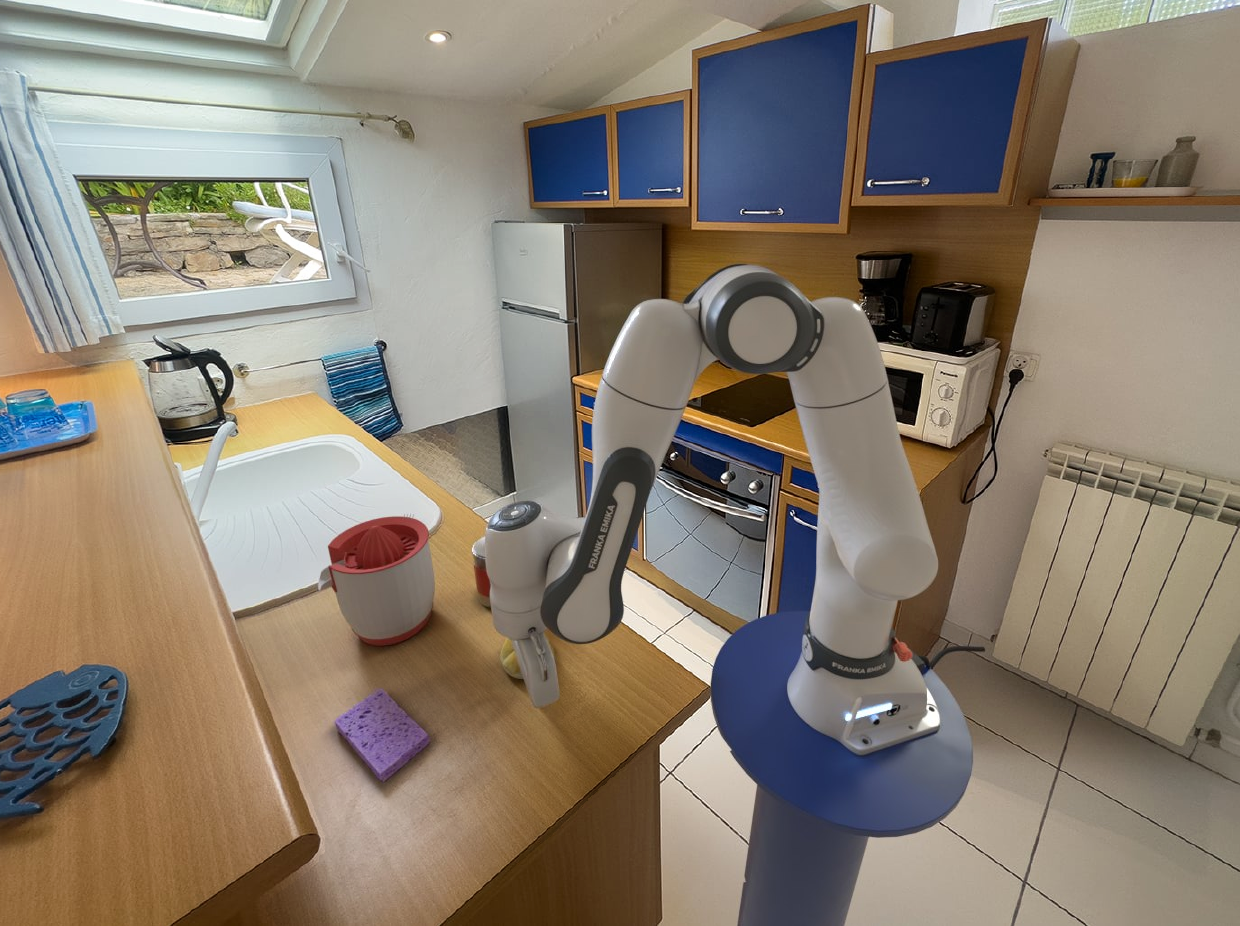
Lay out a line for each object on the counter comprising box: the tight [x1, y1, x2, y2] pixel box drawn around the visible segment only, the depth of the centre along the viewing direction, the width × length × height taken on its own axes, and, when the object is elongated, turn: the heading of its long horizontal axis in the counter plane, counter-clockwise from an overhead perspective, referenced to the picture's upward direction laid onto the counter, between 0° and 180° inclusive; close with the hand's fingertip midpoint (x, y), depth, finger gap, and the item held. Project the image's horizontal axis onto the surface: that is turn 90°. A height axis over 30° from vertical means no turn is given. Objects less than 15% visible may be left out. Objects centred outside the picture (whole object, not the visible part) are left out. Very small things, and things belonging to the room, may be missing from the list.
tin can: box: [471, 536, 491, 609], centre depth 100 cm, size 8×8×11 cm
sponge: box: [333, 687, 431, 783], centre depth 75 cm, size 7×13×2 cm, turn 53°
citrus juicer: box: [317, 515, 436, 646], centre depth 91 cm, size 16×17×20 cm
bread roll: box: [499, 631, 555, 680], centre depth 87 cm, size 8×9×4 cm
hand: (530, 678), depth 82 cm, fingers closed
